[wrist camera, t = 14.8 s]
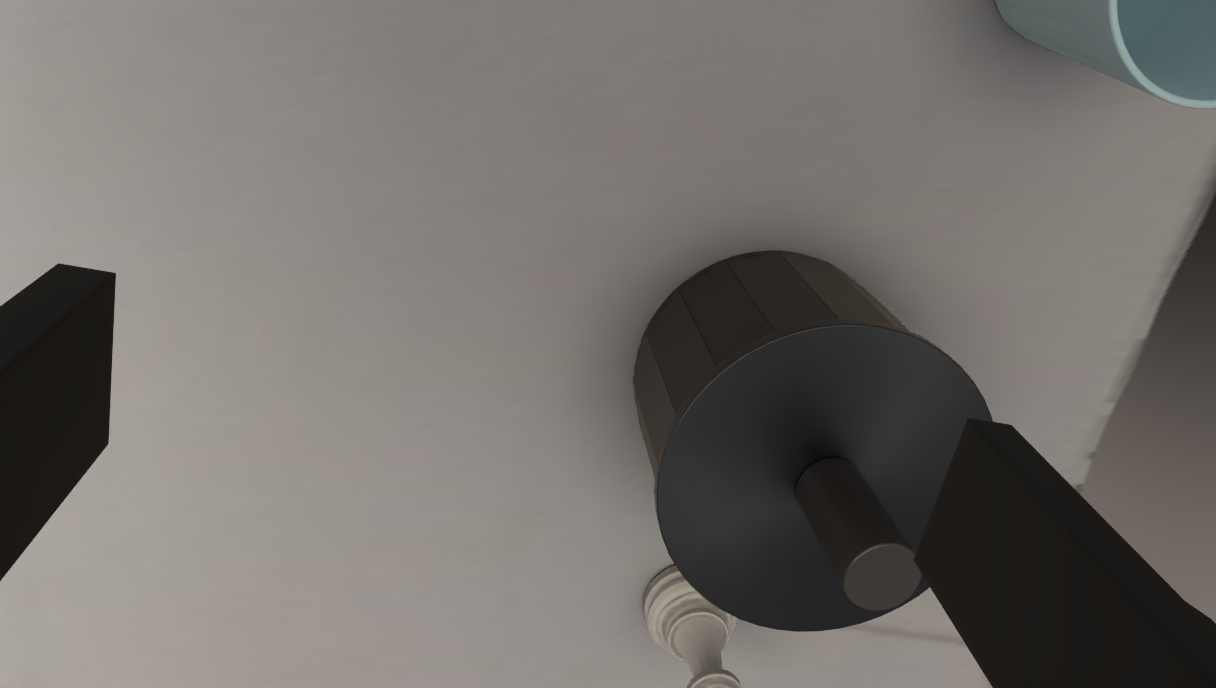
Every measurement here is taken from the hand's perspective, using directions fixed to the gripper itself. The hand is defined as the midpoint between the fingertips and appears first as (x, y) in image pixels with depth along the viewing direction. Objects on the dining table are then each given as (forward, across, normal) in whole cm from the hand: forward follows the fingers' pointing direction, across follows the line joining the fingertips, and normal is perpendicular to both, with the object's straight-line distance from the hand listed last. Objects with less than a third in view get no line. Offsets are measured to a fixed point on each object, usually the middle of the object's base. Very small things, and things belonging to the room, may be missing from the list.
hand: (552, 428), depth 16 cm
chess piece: (+26, +12, -21) cm, 36 cm away
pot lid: (+17, +12, -9) cm, 23 cm away
